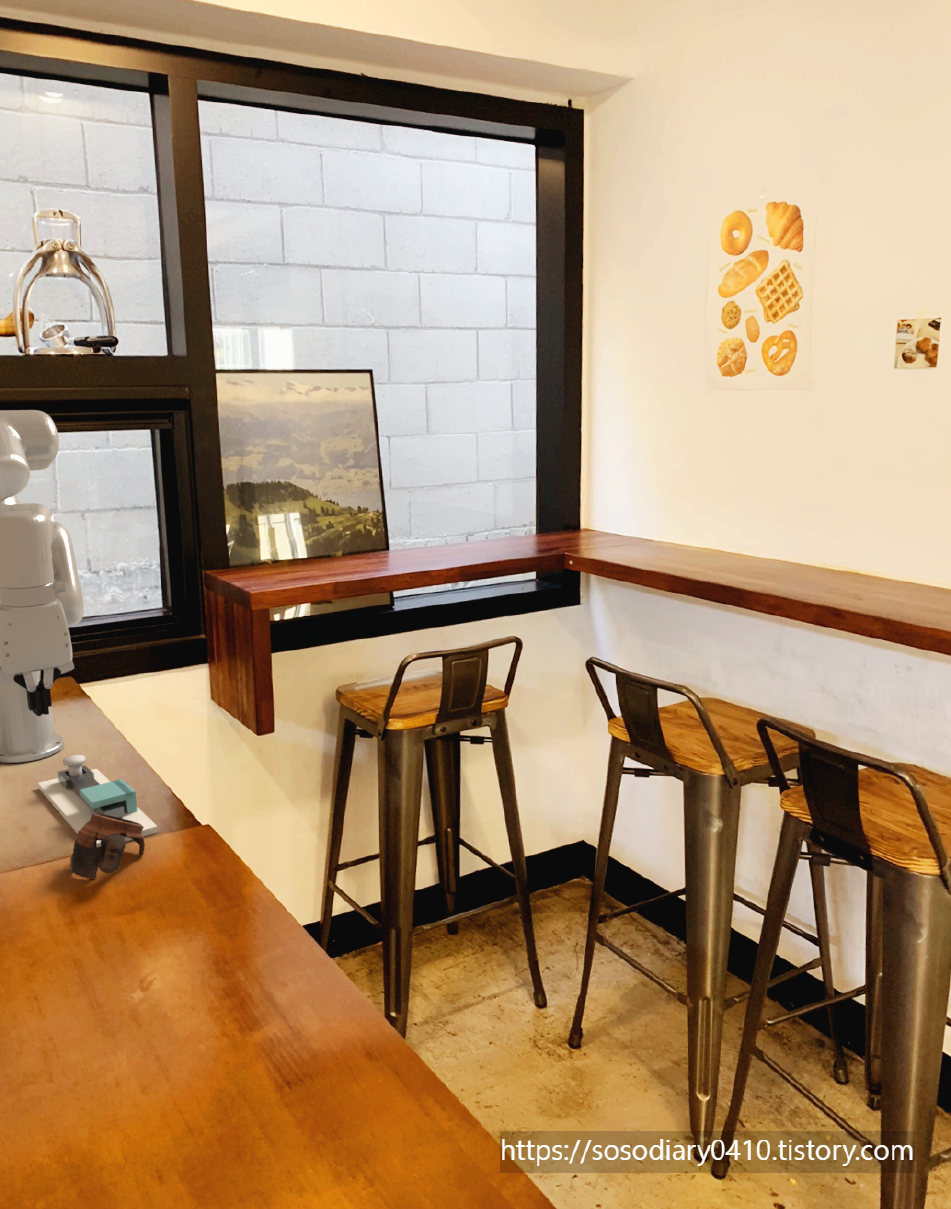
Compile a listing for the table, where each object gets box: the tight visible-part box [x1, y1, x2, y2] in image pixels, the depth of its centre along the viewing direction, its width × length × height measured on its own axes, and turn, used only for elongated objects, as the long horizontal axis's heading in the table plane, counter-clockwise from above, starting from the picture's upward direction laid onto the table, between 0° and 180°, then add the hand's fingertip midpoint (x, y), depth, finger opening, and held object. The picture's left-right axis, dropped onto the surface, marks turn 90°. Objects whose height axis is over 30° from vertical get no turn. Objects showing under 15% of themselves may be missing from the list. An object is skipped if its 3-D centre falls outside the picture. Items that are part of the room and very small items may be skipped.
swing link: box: [57, 765, 125, 817], centre depth 150 cm, size 20×4×2 cm, turn 40°
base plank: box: [37, 754, 159, 847], centre depth 148 cm, size 28×10×5 cm, turn 39°
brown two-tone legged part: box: [69, 813, 146, 881], centre depth 131 cm, size 12×10×8 cm
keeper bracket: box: [80, 778, 138, 814], centre depth 146 cm, size 6×6×3 cm
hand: (40, 712), depth 144 cm, fingers closed
